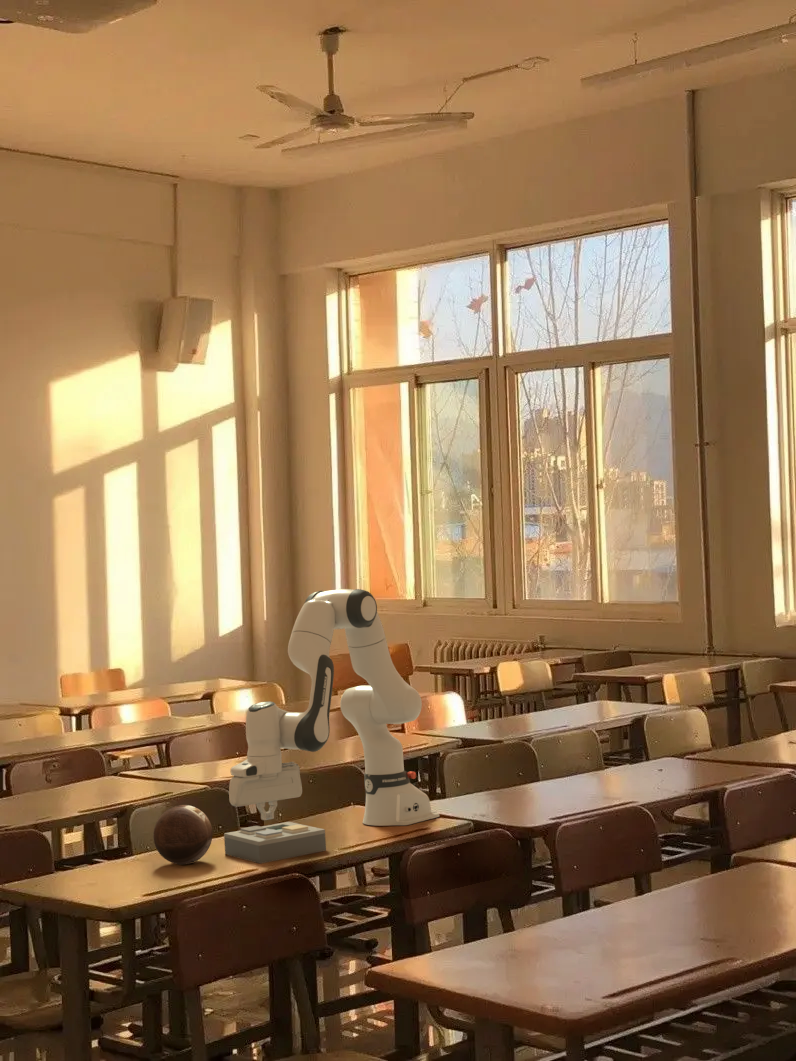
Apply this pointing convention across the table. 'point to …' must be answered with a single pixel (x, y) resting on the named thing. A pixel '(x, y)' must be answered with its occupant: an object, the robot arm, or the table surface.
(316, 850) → the keypad
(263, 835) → the key
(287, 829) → the key
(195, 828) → the wooden sphere
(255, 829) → the key
